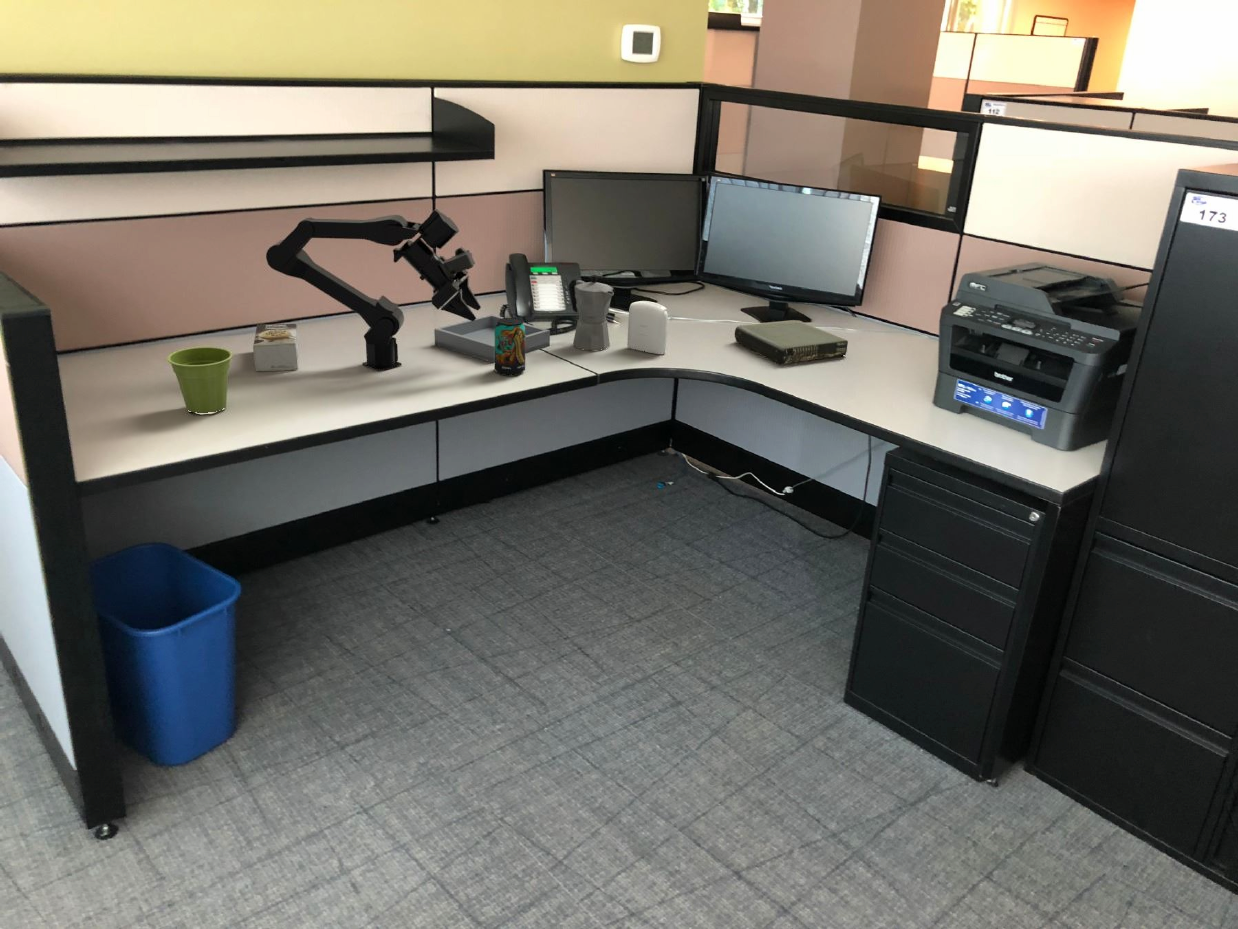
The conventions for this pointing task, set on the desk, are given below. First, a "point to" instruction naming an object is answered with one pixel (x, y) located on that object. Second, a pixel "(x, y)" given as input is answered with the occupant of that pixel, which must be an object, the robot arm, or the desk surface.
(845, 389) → the desk surface
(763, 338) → the network switch
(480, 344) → the bin
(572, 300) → the coffeepot
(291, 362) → the coffee box
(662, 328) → the photo printer
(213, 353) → the plant pot
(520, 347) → the beverage can
